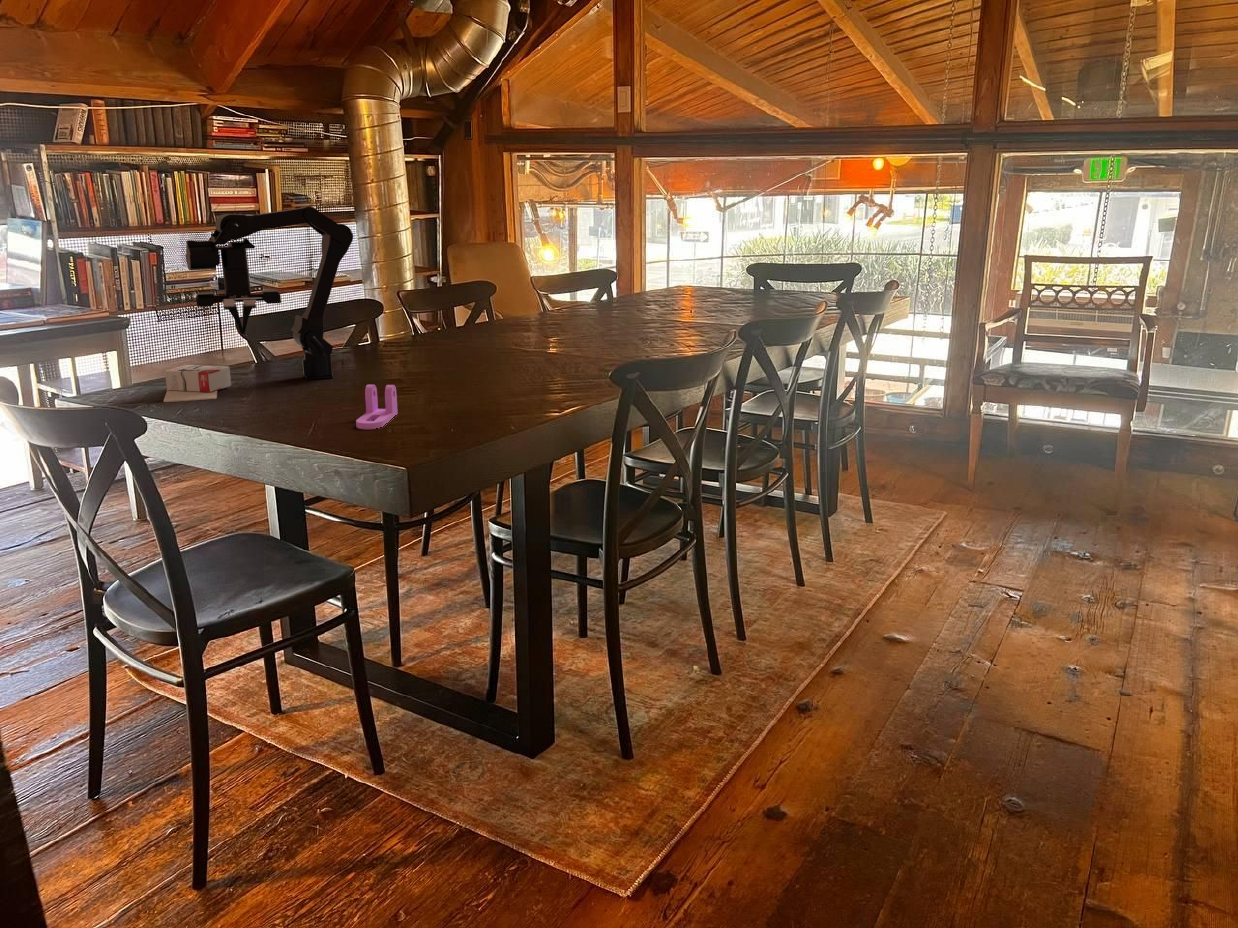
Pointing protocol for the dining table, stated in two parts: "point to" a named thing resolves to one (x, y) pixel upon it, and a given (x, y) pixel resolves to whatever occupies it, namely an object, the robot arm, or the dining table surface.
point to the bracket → (372, 408)
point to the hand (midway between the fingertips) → (243, 334)
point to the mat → (188, 395)
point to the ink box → (198, 378)
